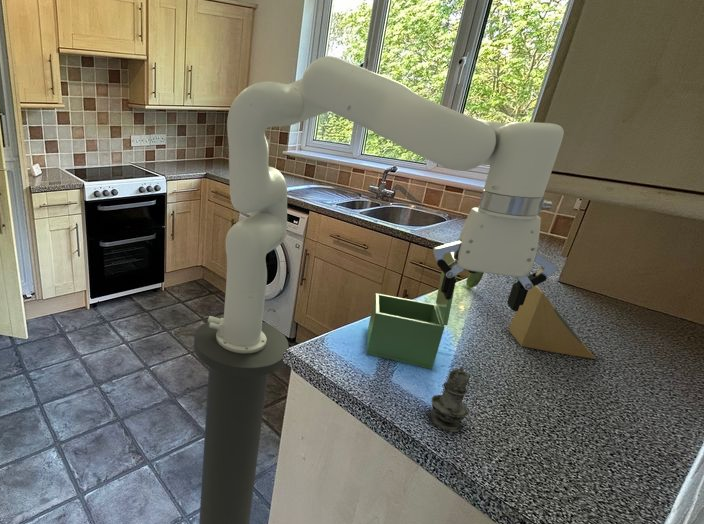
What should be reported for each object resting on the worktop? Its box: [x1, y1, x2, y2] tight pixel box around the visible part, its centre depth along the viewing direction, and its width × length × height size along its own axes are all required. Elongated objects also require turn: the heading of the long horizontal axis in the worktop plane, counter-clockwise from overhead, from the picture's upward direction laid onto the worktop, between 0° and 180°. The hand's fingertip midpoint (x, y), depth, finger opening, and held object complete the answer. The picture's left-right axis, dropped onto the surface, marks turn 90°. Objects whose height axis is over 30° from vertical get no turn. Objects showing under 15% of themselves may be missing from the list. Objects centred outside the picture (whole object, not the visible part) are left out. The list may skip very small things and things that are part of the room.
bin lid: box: [435, 252, 477, 326], centre depth 88 cm, size 14×12×5 cm
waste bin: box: [366, 292, 445, 370], centre depth 96 cm, size 14×12×11 cm
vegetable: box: [465, 272, 485, 290], centre depth 129 cm, size 4×4×20 cm
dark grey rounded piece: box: [428, 366, 470, 433], centre depth 73 cm, size 6×6×12 cm
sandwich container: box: [508, 285, 597, 360], centre depth 100 cm, size 9×15×15 cm, turn 72°
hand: (478, 301), depth 70 cm, fingers open, 9 cm apart
